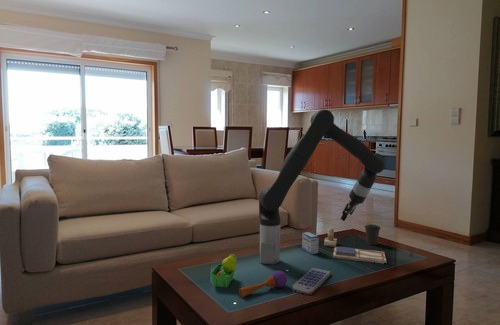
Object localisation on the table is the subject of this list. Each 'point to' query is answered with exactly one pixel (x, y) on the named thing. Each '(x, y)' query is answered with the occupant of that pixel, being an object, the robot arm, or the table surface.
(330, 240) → the stamp
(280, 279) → the kendama
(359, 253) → the stamping board
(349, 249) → the ink pad
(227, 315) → the table surface
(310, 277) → the remote control
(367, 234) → the coffee cup
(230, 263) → the fruit basket
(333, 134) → the robot arm
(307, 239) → the medicine box
